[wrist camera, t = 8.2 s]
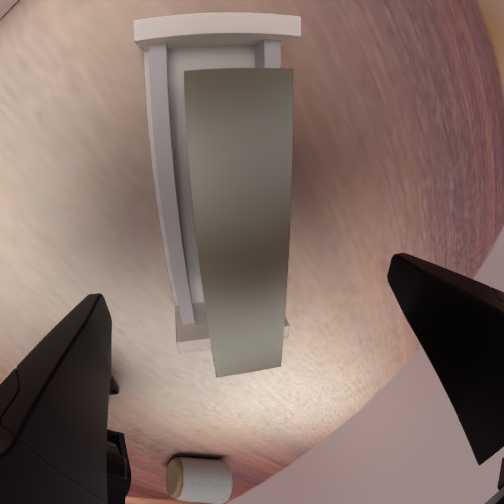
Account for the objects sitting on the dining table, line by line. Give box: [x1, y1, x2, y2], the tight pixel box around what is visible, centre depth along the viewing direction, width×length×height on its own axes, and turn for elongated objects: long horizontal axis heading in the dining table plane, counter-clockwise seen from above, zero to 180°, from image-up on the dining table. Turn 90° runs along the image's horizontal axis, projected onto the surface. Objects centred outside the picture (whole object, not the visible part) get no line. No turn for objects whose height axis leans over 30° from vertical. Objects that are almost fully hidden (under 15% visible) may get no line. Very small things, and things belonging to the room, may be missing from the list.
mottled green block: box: [184, 68, 293, 377], centre depth 13 cm, size 12×3×8 cm, turn 1°
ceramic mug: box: [166, 457, 232, 504], centre depth 35 cm, size 11×8×8 cm
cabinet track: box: [134, 12, 301, 353], centre depth 16 cm, size 18×7×5 cm, turn 1°
